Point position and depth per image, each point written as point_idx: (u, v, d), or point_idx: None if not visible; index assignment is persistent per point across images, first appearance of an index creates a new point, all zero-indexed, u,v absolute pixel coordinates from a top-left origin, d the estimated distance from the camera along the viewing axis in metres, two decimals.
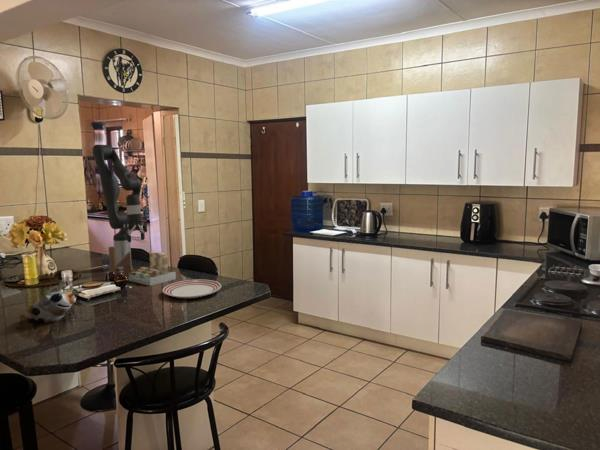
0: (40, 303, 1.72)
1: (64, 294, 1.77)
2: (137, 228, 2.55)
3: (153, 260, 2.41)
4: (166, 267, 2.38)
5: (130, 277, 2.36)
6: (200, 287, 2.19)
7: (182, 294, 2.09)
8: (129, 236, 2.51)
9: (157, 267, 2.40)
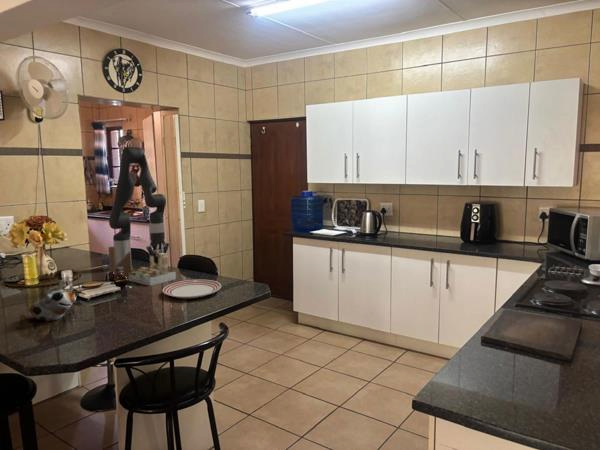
0: (41, 302, 1.73)
1: (65, 293, 1.78)
2: (159, 246, 2.39)
3: (153, 260, 2.41)
4: (166, 267, 2.38)
5: (130, 277, 2.36)
6: (200, 287, 2.19)
7: (182, 294, 2.09)
8: (156, 257, 2.38)
9: (157, 267, 2.40)
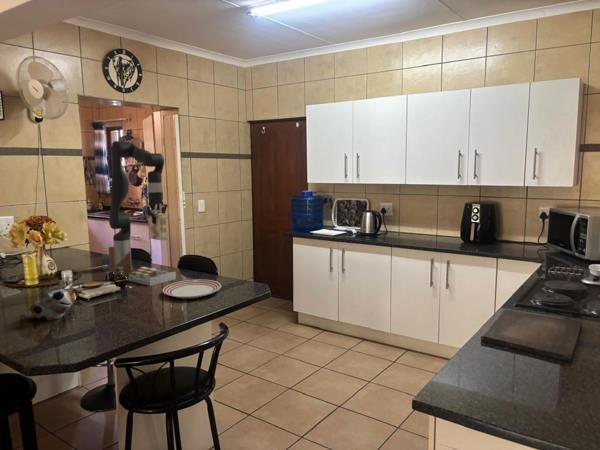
0: (42, 301, 1.74)
1: (65, 292, 1.79)
2: (157, 207, 2.36)
3: (151, 221, 2.38)
4: (164, 227, 2.35)
5: (130, 277, 2.36)
6: (200, 287, 2.19)
7: (182, 294, 2.09)
8: (154, 217, 2.35)
9: (155, 228, 2.37)
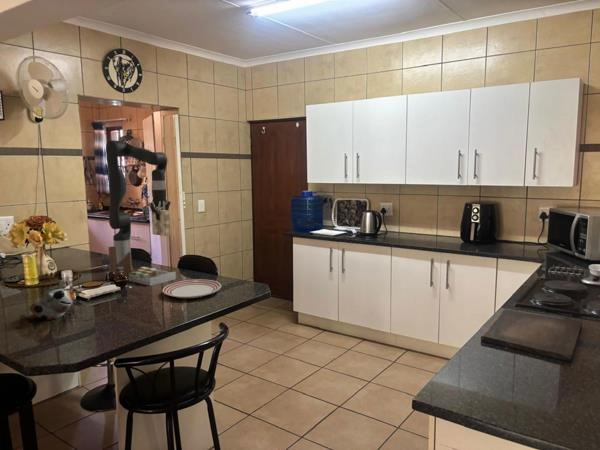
0: (43, 300, 1.75)
1: (66, 291, 1.80)
2: (160, 204, 2.45)
3: (155, 217, 2.47)
4: (168, 223, 2.44)
5: (130, 277, 2.36)
6: (200, 287, 2.19)
7: (182, 294, 2.09)
8: None
9: (159, 224, 2.46)
